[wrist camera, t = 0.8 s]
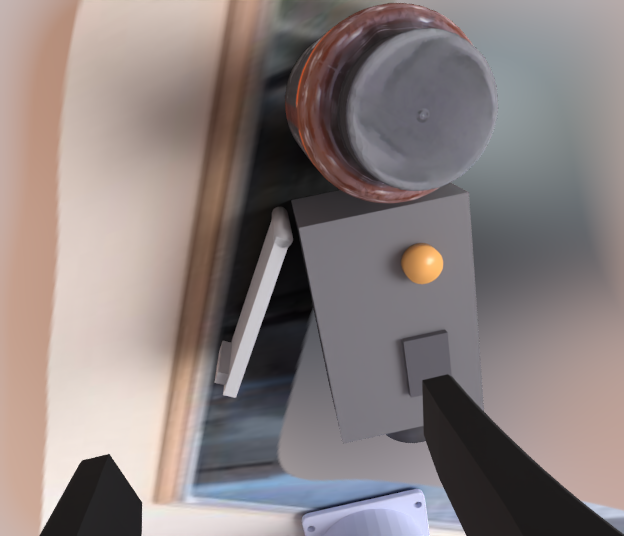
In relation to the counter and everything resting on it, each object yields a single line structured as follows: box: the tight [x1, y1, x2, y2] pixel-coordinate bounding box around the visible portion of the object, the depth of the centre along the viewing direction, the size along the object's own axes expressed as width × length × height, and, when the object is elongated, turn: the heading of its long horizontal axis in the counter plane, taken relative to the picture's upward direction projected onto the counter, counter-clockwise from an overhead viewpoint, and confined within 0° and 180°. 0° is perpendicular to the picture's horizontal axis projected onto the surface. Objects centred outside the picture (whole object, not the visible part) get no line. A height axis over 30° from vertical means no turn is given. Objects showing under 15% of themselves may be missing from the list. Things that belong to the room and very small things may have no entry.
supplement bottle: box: [285, 3, 498, 203], centre depth 18 cm, size 6×6×11 cm
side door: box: [215, 207, 293, 398], centre depth 23 cm, size 8×1×4 cm, turn 161°
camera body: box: [291, 183, 484, 443], centre depth 24 cm, size 13×7×6 cm, turn 11°
